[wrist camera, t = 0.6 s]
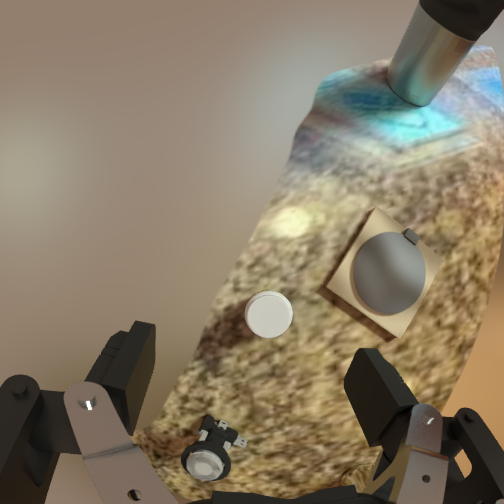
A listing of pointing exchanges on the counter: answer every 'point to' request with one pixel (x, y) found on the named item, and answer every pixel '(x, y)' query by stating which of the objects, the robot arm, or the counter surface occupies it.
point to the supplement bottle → (268, 313)
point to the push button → (211, 450)
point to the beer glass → (357, 476)
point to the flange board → (385, 273)
